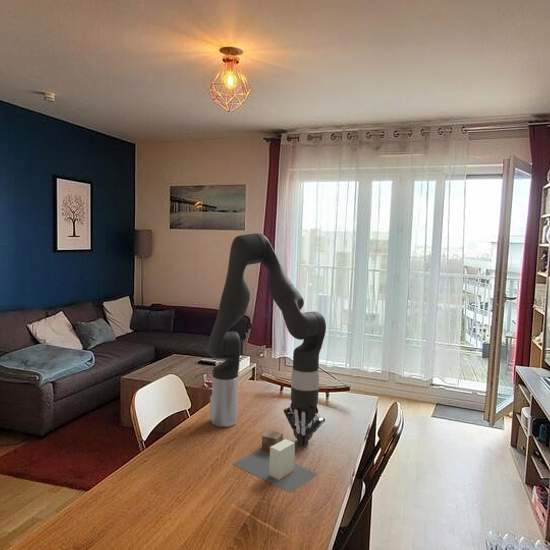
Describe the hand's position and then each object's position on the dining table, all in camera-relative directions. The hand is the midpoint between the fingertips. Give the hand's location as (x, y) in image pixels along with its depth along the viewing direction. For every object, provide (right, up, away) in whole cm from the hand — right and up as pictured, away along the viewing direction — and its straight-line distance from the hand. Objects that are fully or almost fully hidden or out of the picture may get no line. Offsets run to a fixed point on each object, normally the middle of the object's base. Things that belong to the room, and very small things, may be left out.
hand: (302, 446), depth 125 cm
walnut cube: (-9, -9, +21) cm, 24 cm away
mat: (-8, -10, +8) cm, 15 cm away
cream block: (-6, -10, +6) cm, 13 cm away
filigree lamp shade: (+2, -9, +25) cm, 27 cm away
